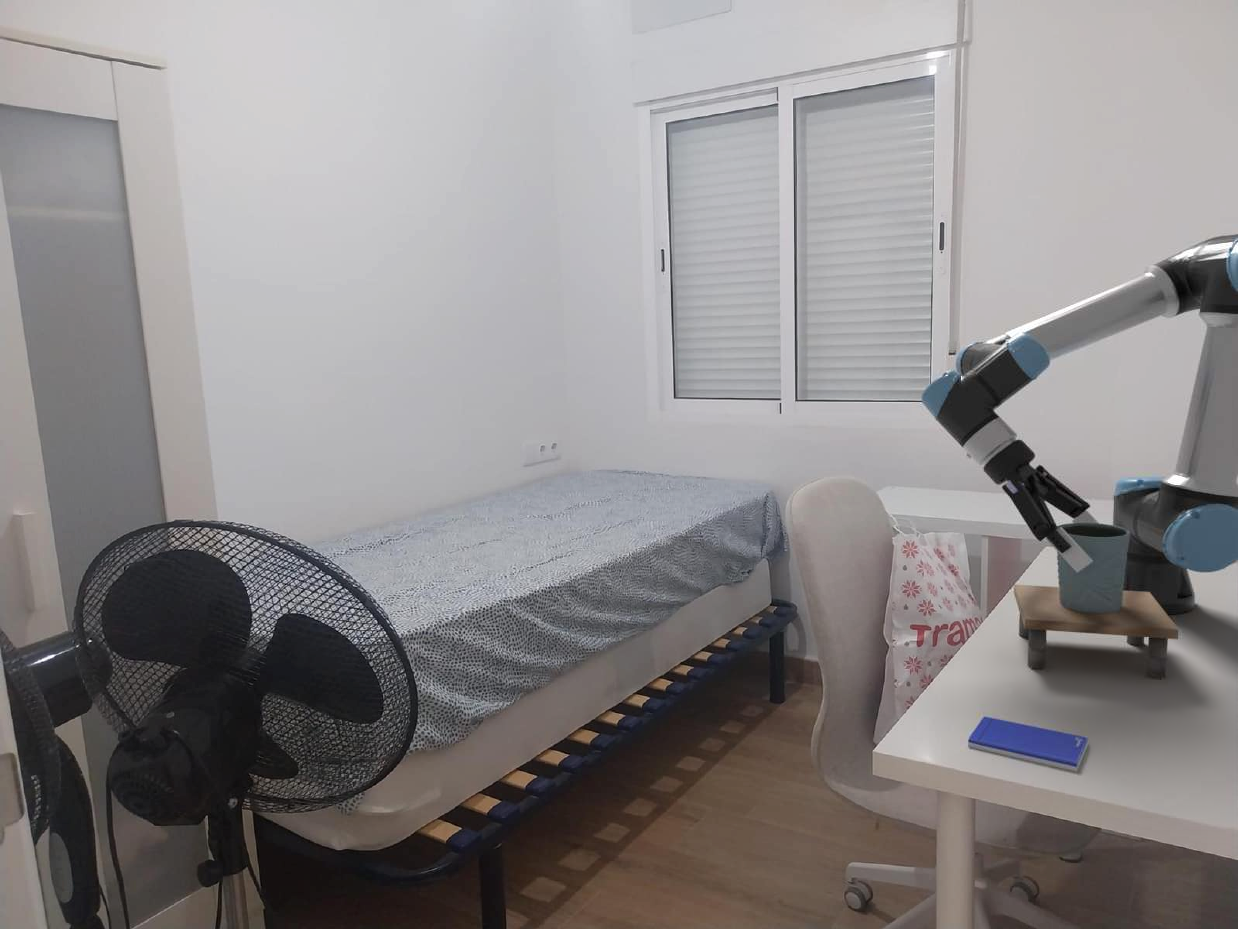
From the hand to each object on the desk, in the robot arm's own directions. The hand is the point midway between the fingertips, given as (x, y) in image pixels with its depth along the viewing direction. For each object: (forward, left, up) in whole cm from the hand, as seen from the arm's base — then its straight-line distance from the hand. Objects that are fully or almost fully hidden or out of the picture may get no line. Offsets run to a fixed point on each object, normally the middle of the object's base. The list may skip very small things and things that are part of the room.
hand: (1097, 557), depth 139 cm
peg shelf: (+1, -1, -16) cm, 16 cm away
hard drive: (+13, +34, -17) cm, 40 cm away
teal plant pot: (+1, -1, -8) cm, 8 cm away
